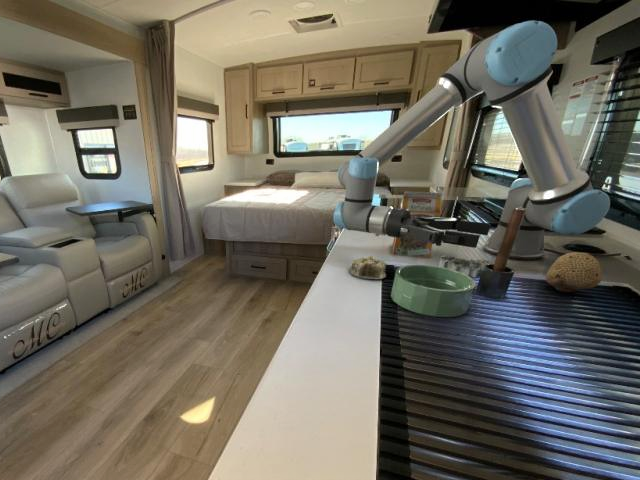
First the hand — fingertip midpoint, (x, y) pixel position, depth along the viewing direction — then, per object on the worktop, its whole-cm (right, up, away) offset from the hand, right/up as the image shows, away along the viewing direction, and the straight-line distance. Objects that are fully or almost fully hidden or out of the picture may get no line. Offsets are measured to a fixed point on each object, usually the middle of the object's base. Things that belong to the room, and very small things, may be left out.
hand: (484, 235), depth 76 cm
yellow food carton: (+1, +1, +35) cm, 35 cm away
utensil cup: (+4, -14, +3) cm, 15 cm away
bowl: (-13, -16, 0) cm, 20 cm away
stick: (+4, -13, +3) cm, 14 cm away
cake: (-20, -8, +17) cm, 28 cm away
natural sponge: (+23, -13, +4) cm, 27 cm away
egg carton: (+6, -7, +18) cm, 20 cm away
